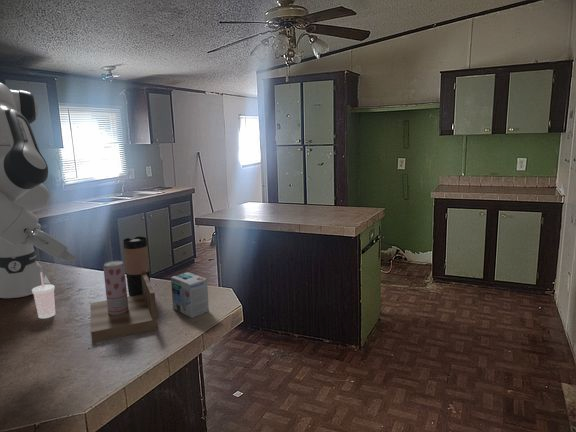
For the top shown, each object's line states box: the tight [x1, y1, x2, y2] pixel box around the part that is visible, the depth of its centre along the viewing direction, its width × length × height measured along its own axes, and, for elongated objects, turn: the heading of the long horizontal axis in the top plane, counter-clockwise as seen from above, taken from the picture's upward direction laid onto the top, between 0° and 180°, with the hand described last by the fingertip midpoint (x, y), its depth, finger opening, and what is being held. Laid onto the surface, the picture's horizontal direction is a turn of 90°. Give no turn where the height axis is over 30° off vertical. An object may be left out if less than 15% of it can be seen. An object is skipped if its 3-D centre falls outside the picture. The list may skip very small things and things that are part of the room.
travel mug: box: [122, 236, 151, 297], centre depth 144 cm, size 8×8×20 cm
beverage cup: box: [32, 271, 56, 319], centre depth 129 cm, size 6×6×14 cm
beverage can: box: [103, 260, 128, 315], centre depth 123 cm, size 6×6×15 cm
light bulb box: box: [170, 271, 209, 318], centre depth 131 cm, size 11×7×11 cm, turn 47°
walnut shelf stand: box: [89, 271, 159, 343], centre depth 125 cm, size 22×17×11 cm
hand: (66, 256), depth 112 cm, fingers open, 8 cm apart
